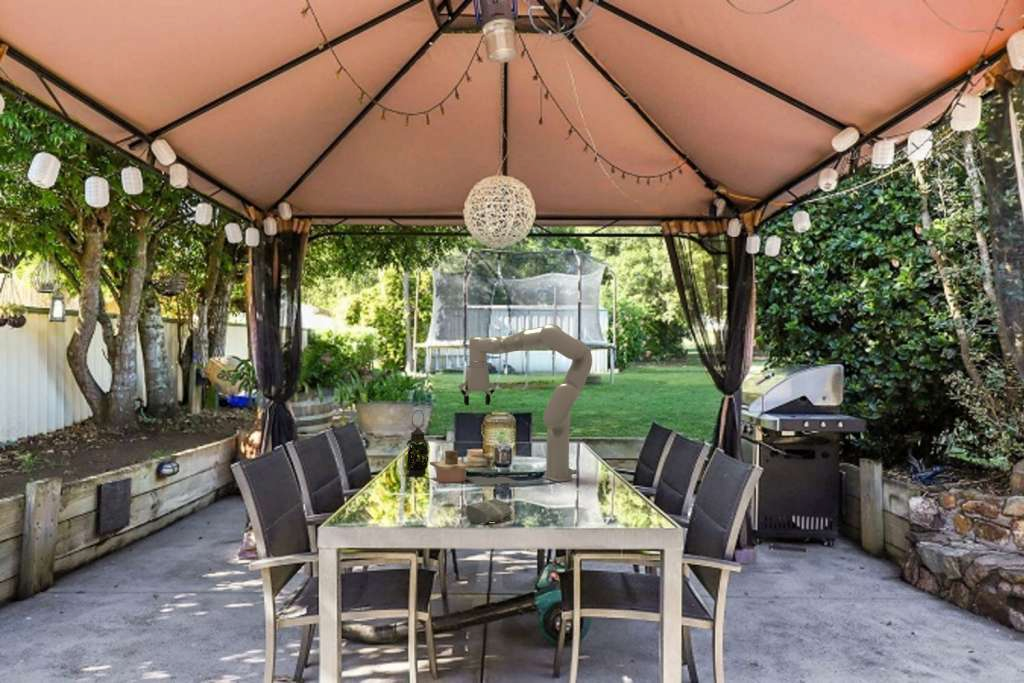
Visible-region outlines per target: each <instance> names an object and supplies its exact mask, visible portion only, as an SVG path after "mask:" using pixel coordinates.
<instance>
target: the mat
mask: <svg viewBox="0 0 1024 683" xmlns="http://www.w3.org/2000/svg"><path fill="white" fill-rule="evenodd" d="M482 476H483V475H481V476H466V480H467V481H468V482H470V483H473V484H475V485H477V486H485V485H487V486H488V485H500V484H501V485H503V484H516V483H519V481H518V480H515V479H513V478H510V477H509V476H506V477H496V478H486V477H482ZM466 480H465V481H466Z"/></svg>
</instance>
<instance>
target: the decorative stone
mask: <svg viewBox="0 0 1024 683" xmlns="http://www.w3.org/2000/svg"><path fill="white" fill-rule="evenodd" d="M465 509H466V510H465V514H466V518H467V520H468V521H469V522H470V523H473V522H476V523H475V524H480V523H489V522H497V523H499V521H500V523H502V522H504V521H503V520H505V519H507V518H509V519H511V516H512V512H513V510H512V509H511V506H509V505H508V503H506V502H505V501H503V500H500V499H498V498H497V499H496V498H493V499H488V500H483V501H480V502H477V503H472V504H468V505H466V506H465ZM507 520H508V519H507ZM501 521H502V522H501ZM505 521H506V520H505Z"/></svg>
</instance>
